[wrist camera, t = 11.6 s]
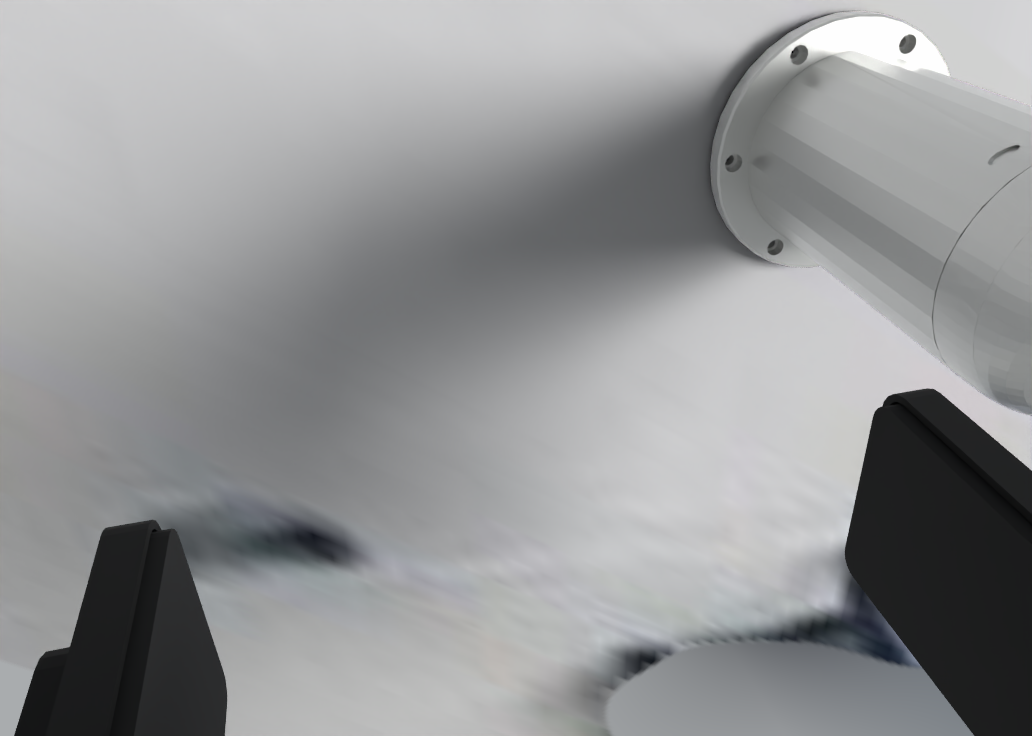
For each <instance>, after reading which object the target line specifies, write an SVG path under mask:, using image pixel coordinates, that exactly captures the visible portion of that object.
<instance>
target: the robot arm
mask: <svg viewBox="0 0 1032 736" xmlns="http://www.w3.org/2000/svg"><path fill="white" fill-rule="evenodd" d="M793 49H794V52H793V54H792V55H791V52H792V50H793ZM790 55H791V56H790ZM729 156H730V158H729ZM728 158H729V160H728V161H727V162H726V160H727V159H728ZM710 171H711V187H712V192H713V195H714V199H715V203H716V206H717V209H718V211H719V213H720V215H721V217H722V219H723V221H724V223H725V225H726V226H727V228H728V229H729V230H730V231H731V232H732V233H733V234H734V236H735V237H736V238H737V239H738V240H739V241H740V242H741V243H742V244H744V245H745V246H746V247H747V248H748V249H750V250H751V251H752V252H753V253H755V254H756V255H758V256H760V257H762V258H763V259H765V260H767V261H769V262H773V263H777V264H780V265H784V266H788V267H804V268H810V267H817V266H821V267H822V268H823V269H825V270H826V271H827V272H829V273H830V274H831V275H832V276H834V277H835V278H836V279H837V280H839V281H840V282H841V283H842V284H844V285H845V286H846V287H847V288H849V289H850V290H851V291H852V292H854V293H855V294H856V295H857V296H859V297H860V298H861V299H862V300H864V301H865V302H866V303H867V304H869V305H870V306H871V307H872V308H874V309H875V310H876V311H877V312H879V313H880V314H881V315H882V316H884V317H885V318H886V319H887V320H889V321H890V322H891V323H892V324H894V325H895V326H896V327H897V328H899V329H900V330H901V331H902V332H904V333H905V334H906V335H907V336H909V337H910V338H911V339H912V340H914V341H915V342H916V343H917V344H919V345H920V346H921V347H922V348H924V349H925V350H926V351H927V352H929V353H930V354H931V355H932V356H934V357H935V358H936V359H937V360H939V361H940V362H941V363H942V364H944V365H945V366H946V367H947V368H949V369H950V370H951V371H952V372H954V373H955V374H956V375H958V376H959V377H961V378H962V379H963V380H964V381H966V382H967V383H968V384H970V385H971V386H972V387H973V388H975V389H976V390H977V391H978V392H980V393H982V394H983V395H985V396H986V397H988V398H989V399H991V400H993V401H994V402H996V403H998V404H1000V405H1002V406H1004V407H1006V408H1009V409H1011V410H1013V411H1016V412H1019V413H1023V414H1026V415H1030V416H1032V106H1031V105H1028V104H1025V103H1023V102H1020V101H1017V100H1014V99H1011V98H1008V97H1006V96H1003V95H1000V94H997V93H994V92H992V91H989V90H986V89H983V88H980V87H978V86H975V85H972V84H969V83H966V82H963V81H961V80H958V79H955V78H952V77H951V76H950V72H949V69H948V66H947V63H946V61H945V60H944V58H943V56H942V54H941V53H940V51H939V49H938V48H937V46H936V45H935V44H934V43H933V42H932V41H931V40H930V39H929V38H928V37H927V36H926V35H925V34H924V33H923V32H922V31H921V30H920V29H918V28H916V27H915V26H913V25H911V24H909V23H908V22H906V21H904V20H902V19H899V18H895V17H892V16H889V15H886V14H883V13H875V12H868V11H861V10H860V11H849V12H838V13H834V14H831V15H828V16H824V17H821V18H818V19H815V20H812V21H810V22H808V23H806V24H804V25H802V26H800V27H799V28H797V29H795V30H793V31H791V32H789V33H788V34H786V35H785V36H784V37H782V38H781V39H780V40H779V41H777V42H776V43H775V44H773V45H772V46H771V47H769V48H768V49H767V50H766V51H765V52H764V53H763V54H762V55H761V56H760V57H759V58H758V59H757V60H756V62H755V63H754V64H753V65H752V66H751V67H750V68H749V69H748V70H747V72H746V73H745V74H744V76H743V77H742V79H741V80H740V82H739V83H738V85H737V86H736V87H735V89H734V90H733V92H732V94H731V96H730V98H729V100H728V102H727V104H726V106H725V108H724V110H723V112H722V114H721V117H720V120H719V123H718V127H717V130H716V133H715V137H714V140H713V146H712V154H711V163H710ZM845 559H846V563H847V566H848V569H849V571H850V573H851V574H852V576H853V577H854V579H855V580H856V581H857V583H858V584H859V585H860V587H861V588H862V589H863V590H864V592H865V593H866V594H867V596H868V597H869V598H870V600H871V601H872V602H873V604H874V605H875V606H876V608H877V609H878V610H879V611H880V613H881V614H882V615H883V617H884V618H885V619H886V621H887V622H888V623H889V625H890V626H891V627H892V628H893V630H894V631H895V632H896V634H897V635H898V636H899V638H900V639H901V640H902V642H903V643H904V644H905V645H906V647H907V648H908V649H909V651H910V652H911V653H912V655H913V656H914V657H915V659H916V660H917V661H918V662H919V664H920V665H921V666H922V668H923V669H924V670H925V672H926V673H927V674H928V675H929V677H930V678H931V679H932V681H933V682H934V683H935V685H936V686H937V687H938V689H939V690H940V691H941V693H942V694H943V695H944V697H945V698H946V699H947V700H948V702H949V703H950V704H951V706H952V707H953V708H954V710H955V711H956V712H957V714H958V715H959V716H960V717H961V719H962V720H963V721H964V723H965V724H966V725H967V727H968V728H969V729H970V731H971V732H972V733H973V734H974V736H1032V471H1031V470H1030V469H1029V468H1028V467H1027V466H1025V465H1024V464H1023V463H1022V462H1021V461H1020V460H1018V459H1017V458H1016V457H1015V456H1014V455H1012V454H1011V453H1010V452H1009V451H1008V450H1007V449H1005V448H1004V447H1003V446H1002V445H1001V444H999V443H998V442H997V441H996V440H995V439H994V438H992V437H991V436H990V435H989V434H988V433H987V432H985V431H984V430H983V429H982V428H981V427H979V426H978V425H977V424H976V423H975V422H974V421H972V420H971V419H970V418H969V417H968V416H967V415H965V414H964V413H963V412H962V411H961V410H959V409H958V408H957V407H956V406H955V405H954V404H952V403H951V402H950V401H949V400H948V399H947V398H945V397H944V396H943V395H942V394H941V393H939V392H938V391H936V390H934V389H922V390H916V391H910V392H904V393H898V394H893V395H890V396H888V397H887V398H886V400H885V401H884V403H883V406H882V407H880V408H878V409H877V410H876V411H875V413H874V416H873V420H872V425H871V430H870V434H869V439H868V444H867V448H866V453H865V458H864V462H863V467H862V472H861V476H860V481H859V486H858V490H857V495H856V500H855V505H854V509H853V514H852V519H851V523H850V528H849V533H848V537H847V542H846V547H845ZM226 711H227V689H226V681H225V676H224V672H223V669H222V666H221V663H220V660H219V657H218V654H217V651H216V648H215V645H214V642H213V639H212V636H211V633H210V630H209V627H208V624H207V621H206V618H205V615H204V611H203V608H202V605H201V602H200V599H199V596H198V593H197V590H196V587H195V584H194V581H193V578H192V575H191V572H190V569H189V566H188V563H187V560H186V557H185V554H184V551H183V548H182V545H181V542H180V539H179V536H178V534H177V532H176V530H175V529H167V530H162V531H161V528H160V526H159V524H158V523H157V522H156V521H155V520H149V521H143V522H137V523H131V524H125V525H120V526H114V527H108V528H105V529H104V530H103V532H102V534H101V537H100V540H99V544H98V548H97V551H96V555H95V559H94V562H93V566H92V569H91V573H90V577H89V580H88V584H87V588H86V591H85V595H84V598H83V602H82V606H81V609H80V613H79V617H78V620H77V624H76V627H75V631H74V635H73V638H72V642H71V646H70V647H69V648H63V649H58V650H53V651H48V652H45V653H44V655H43V656H42V657H41V658H40V659H39V661H38V664H37V666H36V668H35V671H34V674H33V677H32V680H31V684H30V687H29V690H28V693H27V697H26V699H25V703H24V706H23V709H22V713H21V716H20V719H19V722H18V725H17V728H16V732H15V735H14V736H225V724H226Z"/></svg>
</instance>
